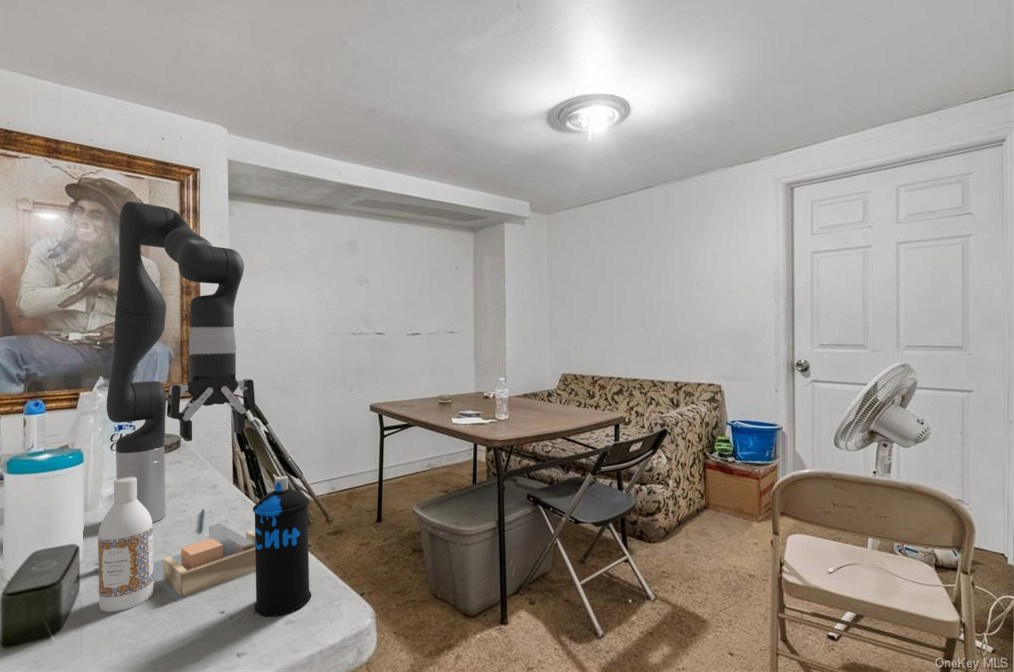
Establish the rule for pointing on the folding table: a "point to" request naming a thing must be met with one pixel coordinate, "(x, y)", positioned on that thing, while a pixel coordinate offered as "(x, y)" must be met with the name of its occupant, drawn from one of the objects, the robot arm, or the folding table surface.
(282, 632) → the folding table surface
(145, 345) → the robot arm
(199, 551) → the block
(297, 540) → the aerosol can
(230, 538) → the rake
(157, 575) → the mat
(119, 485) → the bath foam
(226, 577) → the stall
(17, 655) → the folding table surface
